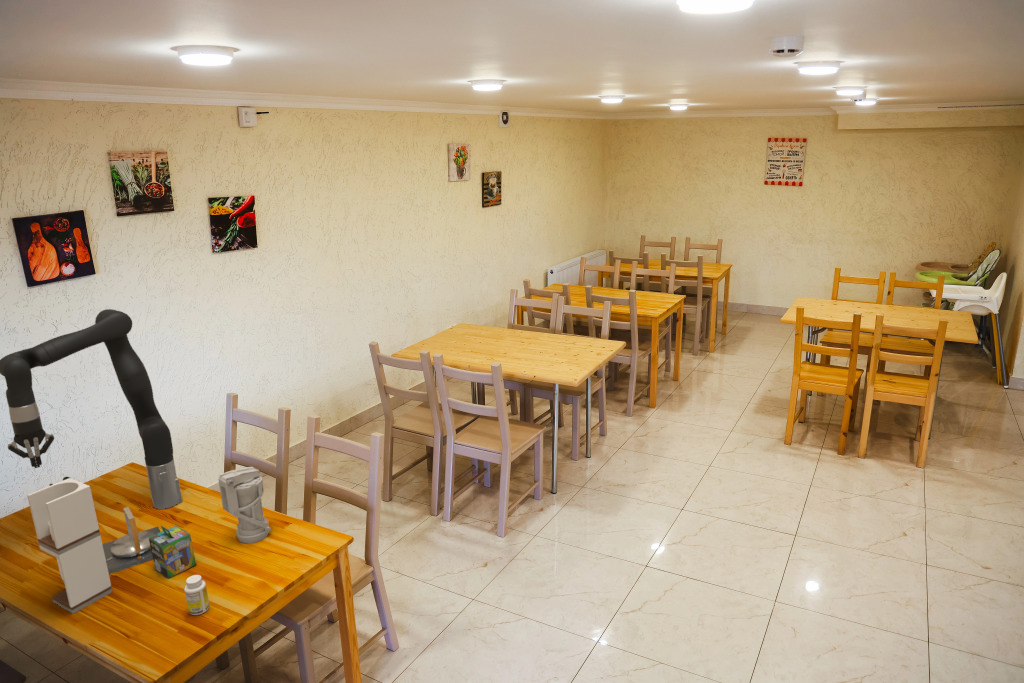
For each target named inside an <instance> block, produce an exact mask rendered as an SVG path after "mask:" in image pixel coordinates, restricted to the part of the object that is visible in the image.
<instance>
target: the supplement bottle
mask: <svg viewBox="0 0 1024 683" xmlns="http://www.w3.org/2000/svg"><path fill="white" fill-rule="evenodd" d="M202 579H203V578H202V576H201V575H200V574H193V575H191V576H189V577H187V579H186V580H185V584H186V585H185V586H184V589H183V590H184V595H185V600H186V605H187V606H186V607H187V611H188V613H189V614H190V615H192V616H198V615H202V614H203V613H206V612H207V611H208V610H209V608H210V601H209V596H208V590H207V584H206V583H207V582H206V581H205V580H202Z"/></svg>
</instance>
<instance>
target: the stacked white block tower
mask: <svg viewBox="0 0 1024 683" xmlns="http://www.w3.org/2000/svg"><path fill="white" fill-rule="evenodd" d="M52 484H53V485H51V486H49V485H48V486H46V487H43V488H41V489H39V490H36V491H34V492H31V493H28V494H26V496H27V501H28V504H29V505H28V506H29V509H30V512H31V517H32V521H33V526H34V529H35V533H36V534H35V535H36V537H37V542H38V546H39V550H41V551H43V552H45V553H47V554H49V555H51V556H53V557H54V558H56V561H57V565H58V570H59V574H60V578H61V579H62V581H63V583H64V587H65V589H63V590H61V591H59V592H58V593H56V594H53V595H52V596H51V598H52V603H53V602H54V604H55V603H56V604H55V605H57V604H58V605H57V606H58V607H60V606H61V608H62V609H63V610H66V611H68V612H69V613H71V614H75V613H78V612H79V611H81V610H82V609H84V608H86V607H87V606H89V605H91V604H93V603H95V602H97V601H98V600H100V599H102V598H104V597H106V596H107V595H110V594H111V593H113V588H112V583H111V578H110V574H109V573H108V568H107V564H106V559H105V554H104V550H103V545H102V544H103V540H102V537H101V536H102V535H101V532H100V527H99V521H98V518H97V513H96V508H95V504H94V499H93V493H92V490H91V486H90V485H89V484H85V483H83V482H80V481H78V480H76V479H74V478H72V477H70V478H68V479H66V480H63V479H62V480H61V481H59V482H56V483H52Z"/></svg>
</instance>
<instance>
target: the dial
mask: <svg viewBox="0 0 1024 683" xmlns="http://www.w3.org/2000/svg"><path fill="white" fill-rule="evenodd" d="M122 509H123V513H124V518H125V523H126V527H127V528H126V529H127V532H128V534H124V535H123V536H121V537H119V538H117V539H115V540H116V541H115V542H114V543H113V544H112V545H111V552H112V555H114V556H116V557H132V556H136V555H139V554H141V553H144V552H146V551H148V550H149V549H151V547H150V542H149V537H151V536H154V535H155V534H154V533H152V532H148V531H145V530H141V531H138V528H137V523H136V518H135V516H134V515H133V513H132V510H131V509H130V507H129V506H126V507H124V508H122Z"/></svg>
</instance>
